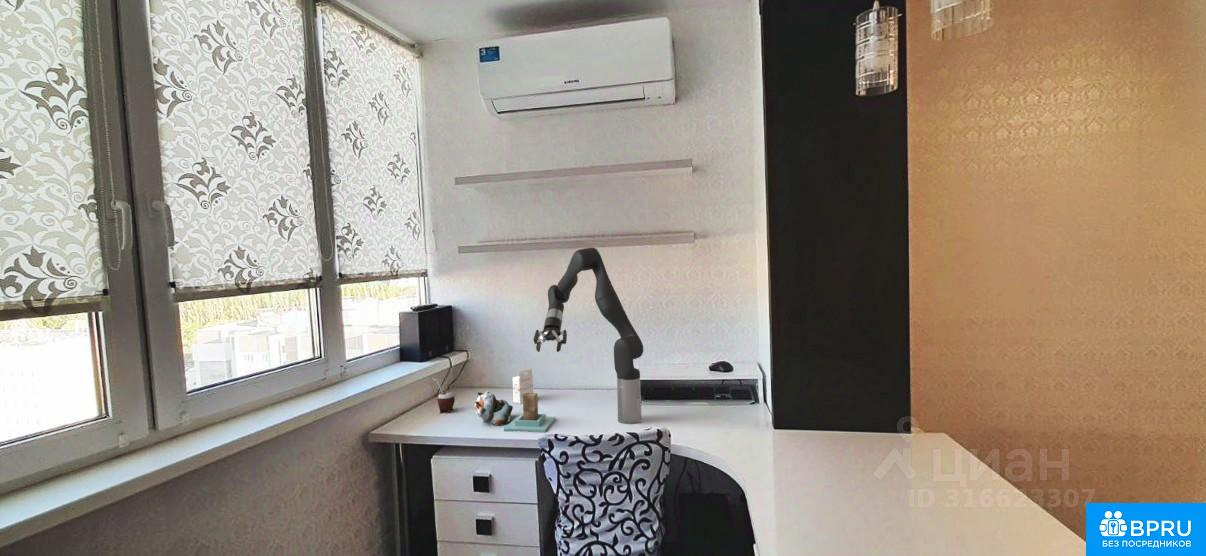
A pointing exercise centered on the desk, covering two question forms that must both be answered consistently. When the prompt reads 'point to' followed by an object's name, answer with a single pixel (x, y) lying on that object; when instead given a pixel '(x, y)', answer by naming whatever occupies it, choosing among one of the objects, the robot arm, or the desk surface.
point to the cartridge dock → (530, 424)
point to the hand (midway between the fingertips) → (547, 350)
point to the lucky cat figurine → (493, 409)
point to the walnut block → (530, 406)
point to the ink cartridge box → (522, 385)
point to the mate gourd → (445, 400)
